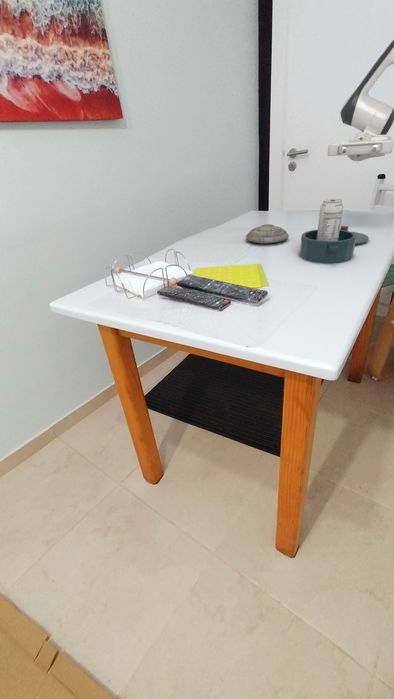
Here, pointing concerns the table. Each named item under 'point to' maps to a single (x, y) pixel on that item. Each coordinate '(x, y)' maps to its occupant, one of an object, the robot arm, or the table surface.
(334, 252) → the pot
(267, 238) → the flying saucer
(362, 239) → the pot lid
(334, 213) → the energy drink can
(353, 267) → the table surface
